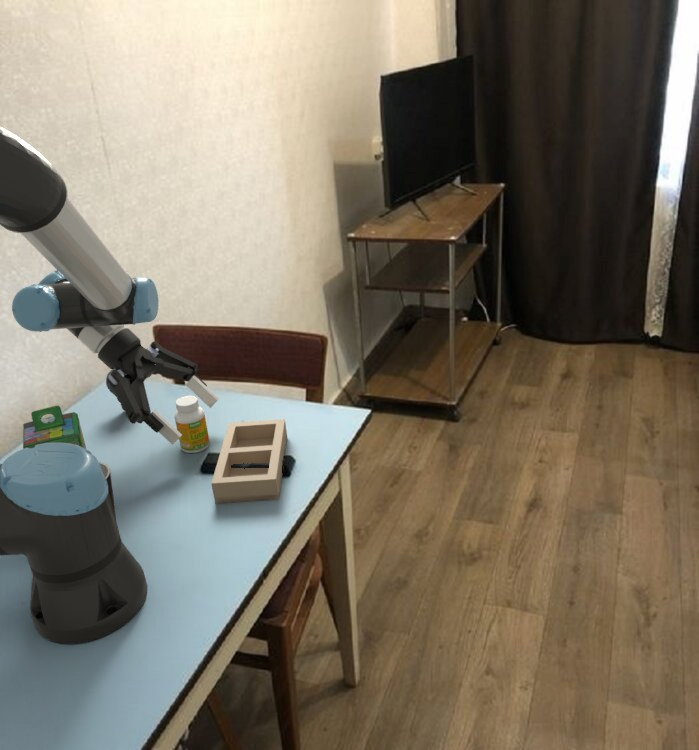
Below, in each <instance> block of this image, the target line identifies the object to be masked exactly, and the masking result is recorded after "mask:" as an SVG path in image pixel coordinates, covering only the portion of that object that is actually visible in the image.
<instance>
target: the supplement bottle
mask: <svg viewBox="0 0 699 750" xmlns="http://www.w3.org/2000/svg"><path fill="white" fill-rule="evenodd" d="M175 406H176V408H175V409H176V411H175V414H174V421H175V426H176V427H175V428H176V429H177V430H178V431H179V432H180V433H181V434H182V436H181V437H180V438H179V439H178V440H179V445H180V449H181V450H182V451H183V452H184V453H186V454H187V453H188V454H197V453H200V452H203V451H204V450H206V449H207V448H208V447H209V446H210V437H209V431H208V426H207V425H208V424H207V421H206V416H205V415H206V414H205V411H204V409H203V408H202V407H201V406H200V404H199V398H198V396H196V395H195V396H194V395H185V396H184V395H183V396H182V397H179V398H178V399H176V400H175Z"/></svg>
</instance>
